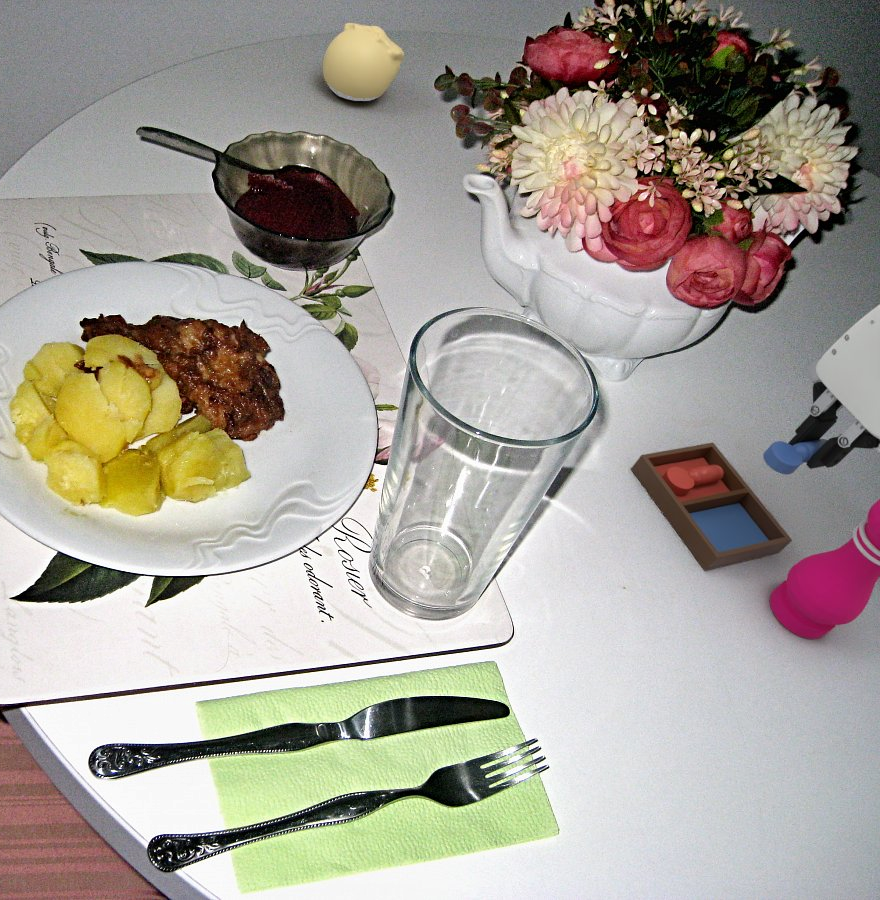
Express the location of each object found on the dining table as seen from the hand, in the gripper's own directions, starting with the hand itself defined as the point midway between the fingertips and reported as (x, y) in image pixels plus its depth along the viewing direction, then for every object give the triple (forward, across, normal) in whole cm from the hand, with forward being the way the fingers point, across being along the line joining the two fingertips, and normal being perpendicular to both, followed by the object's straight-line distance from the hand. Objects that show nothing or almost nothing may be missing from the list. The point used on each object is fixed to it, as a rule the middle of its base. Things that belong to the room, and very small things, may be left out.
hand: (809, 453), depth 90 cm
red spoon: (+13, +7, +2) cm, 15 cm away
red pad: (+13, +7, +2) cm, 15 cm away
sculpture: (+14, +93, +8) cm, 94 cm away
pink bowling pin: (+14, -11, 0) cm, 17 cm away
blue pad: (+13, 0, +2) cm, 14 cm away
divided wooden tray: (+13, +3, +2) cm, 14 cm away
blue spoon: (+1, 0, +2) cm, 2 cm away
